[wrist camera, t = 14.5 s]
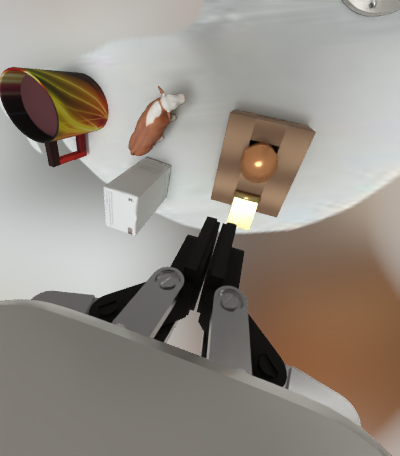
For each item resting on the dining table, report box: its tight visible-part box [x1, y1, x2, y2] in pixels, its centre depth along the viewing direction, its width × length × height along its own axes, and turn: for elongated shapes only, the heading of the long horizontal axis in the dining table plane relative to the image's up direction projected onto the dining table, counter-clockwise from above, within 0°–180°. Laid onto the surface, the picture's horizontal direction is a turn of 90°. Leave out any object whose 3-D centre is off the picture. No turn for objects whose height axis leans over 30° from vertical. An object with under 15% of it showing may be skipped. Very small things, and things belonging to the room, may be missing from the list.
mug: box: [0, 67, 108, 167], centre depth 37 cm, size 10×14×12 cm
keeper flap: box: [227, 191, 261, 230], centre depth 36 cm, size 6×4×1 cm
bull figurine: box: [129, 86, 185, 156], centre depth 35 cm, size 4×13×8 cm, turn 135°
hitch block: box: [211, 110, 316, 217], centre depth 35 cm, size 14×12×6 cm
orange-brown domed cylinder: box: [240, 142, 278, 183], centre depth 33 cm, size 5×5×8 cm
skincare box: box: [104, 157, 171, 235], centre depth 39 cm, size 8×6×15 cm
